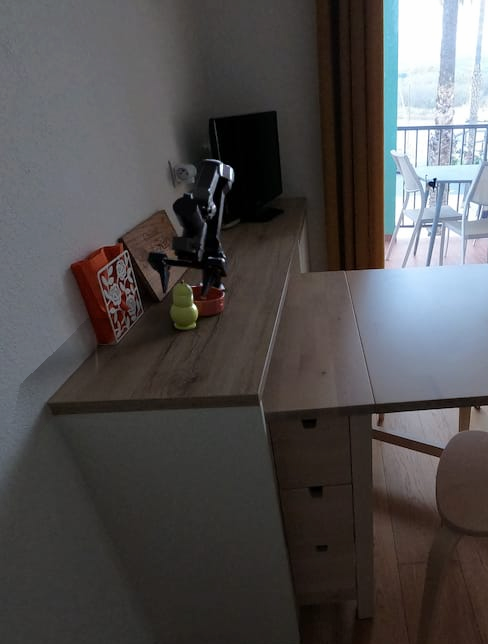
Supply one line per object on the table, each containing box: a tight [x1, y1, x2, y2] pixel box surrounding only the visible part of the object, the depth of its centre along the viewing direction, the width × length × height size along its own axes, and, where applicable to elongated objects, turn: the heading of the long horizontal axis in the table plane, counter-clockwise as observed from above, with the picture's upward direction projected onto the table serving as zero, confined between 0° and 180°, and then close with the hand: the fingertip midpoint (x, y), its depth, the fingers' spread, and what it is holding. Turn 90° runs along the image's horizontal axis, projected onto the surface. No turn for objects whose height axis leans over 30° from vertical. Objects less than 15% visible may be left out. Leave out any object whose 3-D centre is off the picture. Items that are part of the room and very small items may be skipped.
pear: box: [169, 278, 199, 331], centre depth 115 cm, size 7×7×12 cm
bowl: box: [190, 285, 226, 317], centre depth 127 cm, size 12×12×4 cm
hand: (183, 295), depth 115 cm, fingers open, 9 cm apart
